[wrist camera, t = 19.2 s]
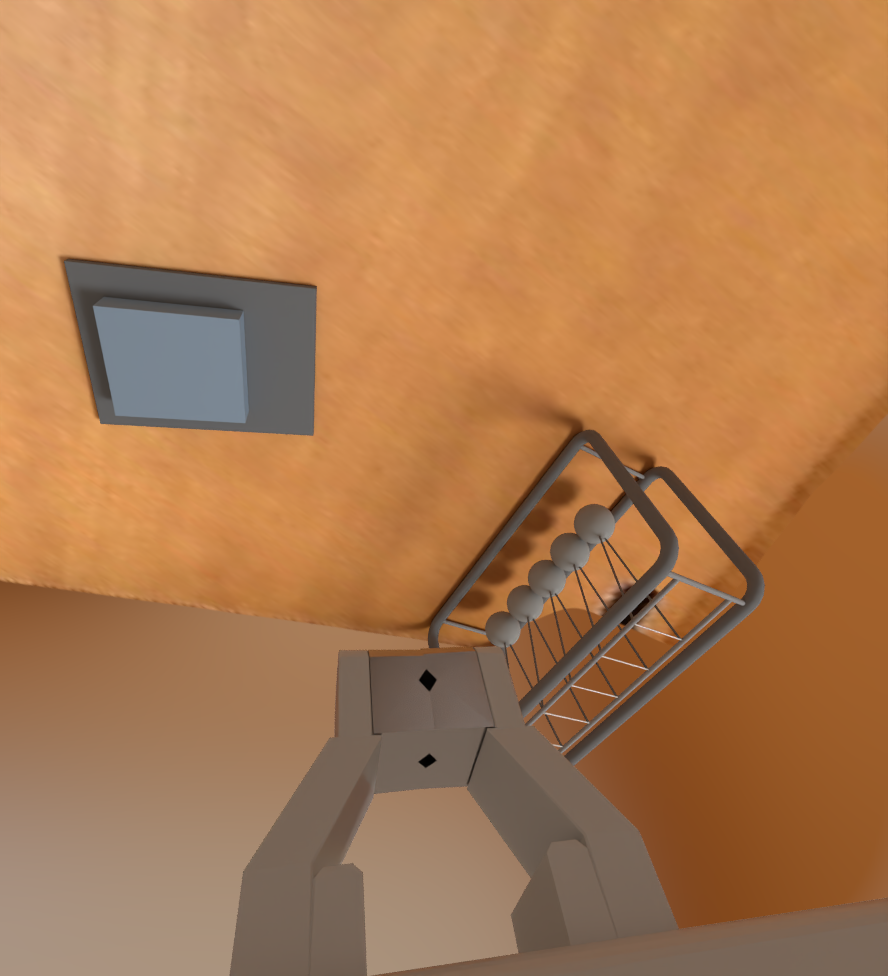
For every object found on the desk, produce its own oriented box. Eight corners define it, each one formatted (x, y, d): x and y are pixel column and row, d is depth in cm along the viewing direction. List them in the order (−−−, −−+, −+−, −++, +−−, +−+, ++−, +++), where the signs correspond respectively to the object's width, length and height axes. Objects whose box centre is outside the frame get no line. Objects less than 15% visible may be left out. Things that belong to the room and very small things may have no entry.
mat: (67, 258, 36) (63, 261, 36) (316, 286, 39) (316, 288, 39) (103, 420, 43) (100, 423, 42) (313, 431, 46) (313, 435, 46)
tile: (248, 410, 44) (124, 402, 42) (243, 310, 39) (103, 296, 37) (245, 423, 42) (115, 415, 40) (239, 319, 37) (92, 305, 36)
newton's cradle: (498, 648, 67) (540, 797, 53) (423, 628, 63) (448, 784, 49) (664, 459, 54) (780, 591, 40) (584, 418, 50) (682, 549, 35)
